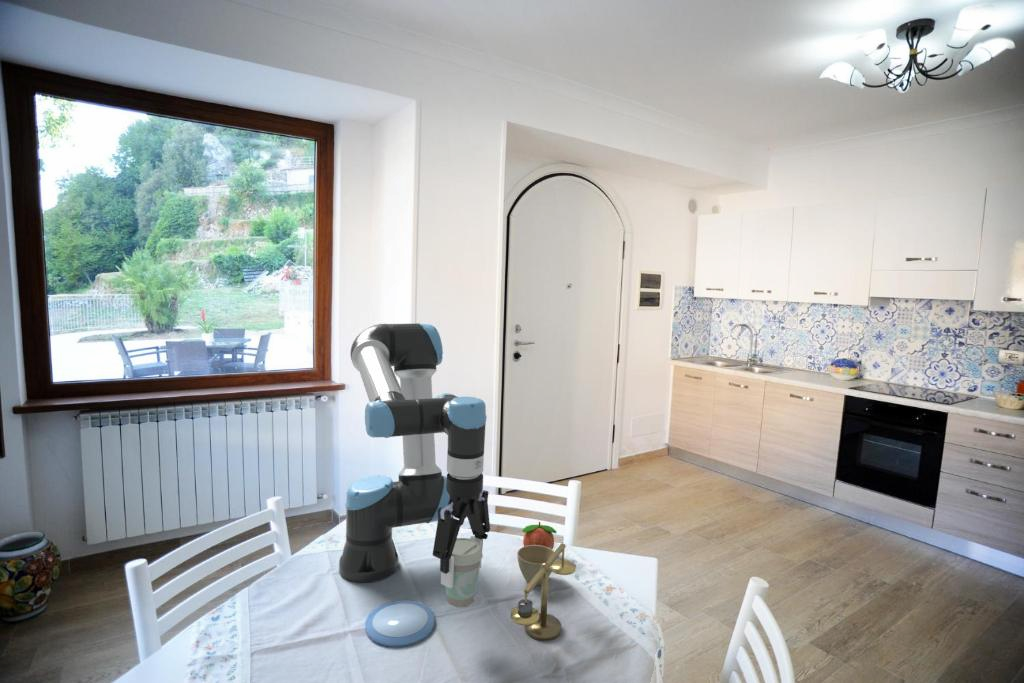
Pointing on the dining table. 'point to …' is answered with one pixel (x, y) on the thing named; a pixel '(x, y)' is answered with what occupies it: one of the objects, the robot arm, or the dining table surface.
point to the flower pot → (533, 560)
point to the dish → (399, 623)
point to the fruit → (539, 535)
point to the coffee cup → (464, 572)
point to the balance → (542, 600)
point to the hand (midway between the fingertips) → (461, 575)
